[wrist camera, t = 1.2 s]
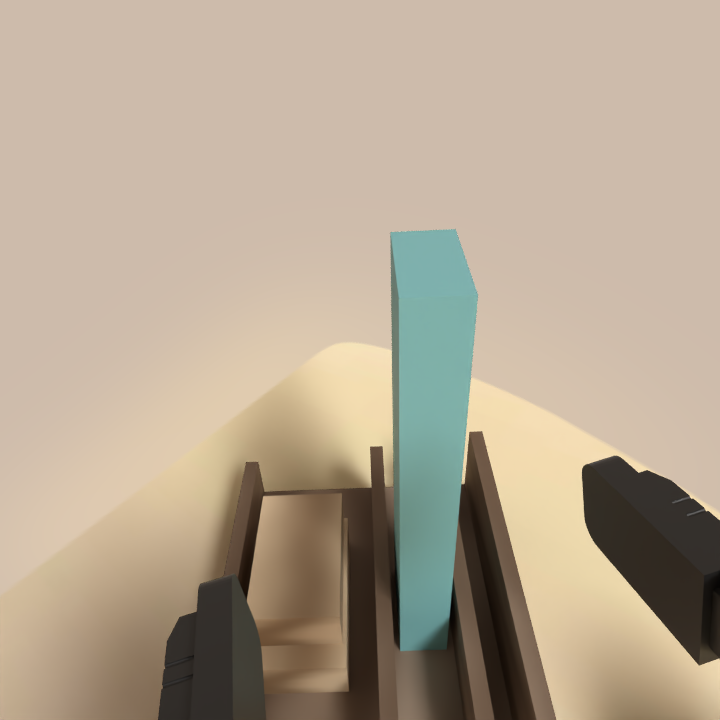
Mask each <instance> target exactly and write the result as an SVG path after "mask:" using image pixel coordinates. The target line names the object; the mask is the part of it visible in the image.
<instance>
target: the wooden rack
mask: <svg viewBox="0 0 720 720" xmlns="http://www.w3.org/2000/svg"><path fill="white" fill-rule="evenodd" d="M370 454H371V482H372V488H353V489H327V490H300V491H273V492H264V488H263V483H262V478H261V474H260V469H259V464H258V462H246V466H245V471H244V476H243V481H242V486H241V491H240V496H239V501H238V506H237V511H236V516H235V521H234V527H233V532H232V537H231V542H230V547H229V552H228V557H227V562H226V567H225V572H224V576H227V575H231V574H235V575H236V576H237V578H238V580H239V583H240V585H241V588H242V590H243V593H244V595H245V598H246V600H247V597H248V590H249V584H250V578H251V571H252V565H253V558H254V552H255V545H256V539H257V533H258V526H259V520H260V513H261V507H262V500H263V496H283V495H309V494H336V493H342V502H343V513H344V518H348V529H349V540H350V608H349V692H318V693H286V694H265V710H266V720H556V717H555V713H554V709H553V705H552V701H551V697H550V693H549V689H548V686H547V682H546V678H545V674H544V670H543V666H542V662H541V658H540V655H539V651H538V647H537V643H536V639H535V635H534V631H533V627H532V623H531V620H530V616H529V612H528V608H527V604H526V600H525V596H524V592H523V589H522V585H521V581H520V577H519V573H518V569H517V565H516V561H515V557H514V554H513V550H512V546H511V542H510V538H509V534H508V530H507V526H506V523H505V519H504V515H503V511H502V507H501V503H500V499H499V495H498V491H497V488H496V484H495V480H494V476H493V472H492V468H491V464H490V460H489V457H488V453H487V449H486V445H485V441H484V437H483V433H482V431H481V432H470V433H469V444H468V454H467V465H466V476H465V484H461V493H460V504H459V515H458V526H457V538H456V549H455V560H454V571H453V583H452V594H451V605H450V617H449V628H448V639H447V650H416V651H400V640H399V625H398V610H397V595H396V580H395V548H394V487H385V482H384V465H383V448H382V446H379V447H370Z"/></svg>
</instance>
